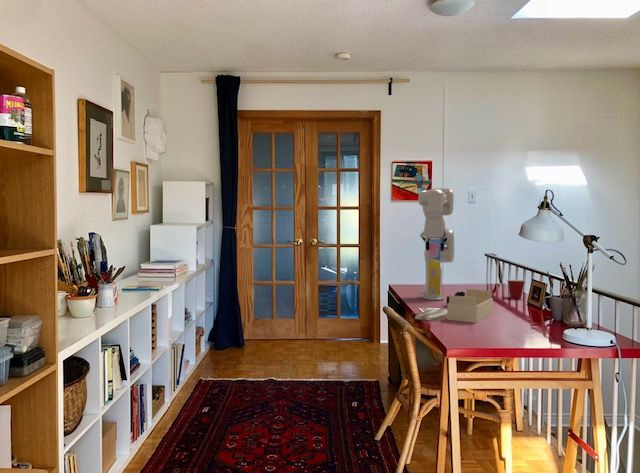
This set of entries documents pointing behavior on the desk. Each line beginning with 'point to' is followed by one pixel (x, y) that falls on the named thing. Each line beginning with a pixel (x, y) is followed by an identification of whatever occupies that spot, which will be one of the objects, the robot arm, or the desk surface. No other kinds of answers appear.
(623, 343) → the desk surface
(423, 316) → the white glove
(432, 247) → the game box
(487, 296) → the carton
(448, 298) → the film camera
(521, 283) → the plastic cup
